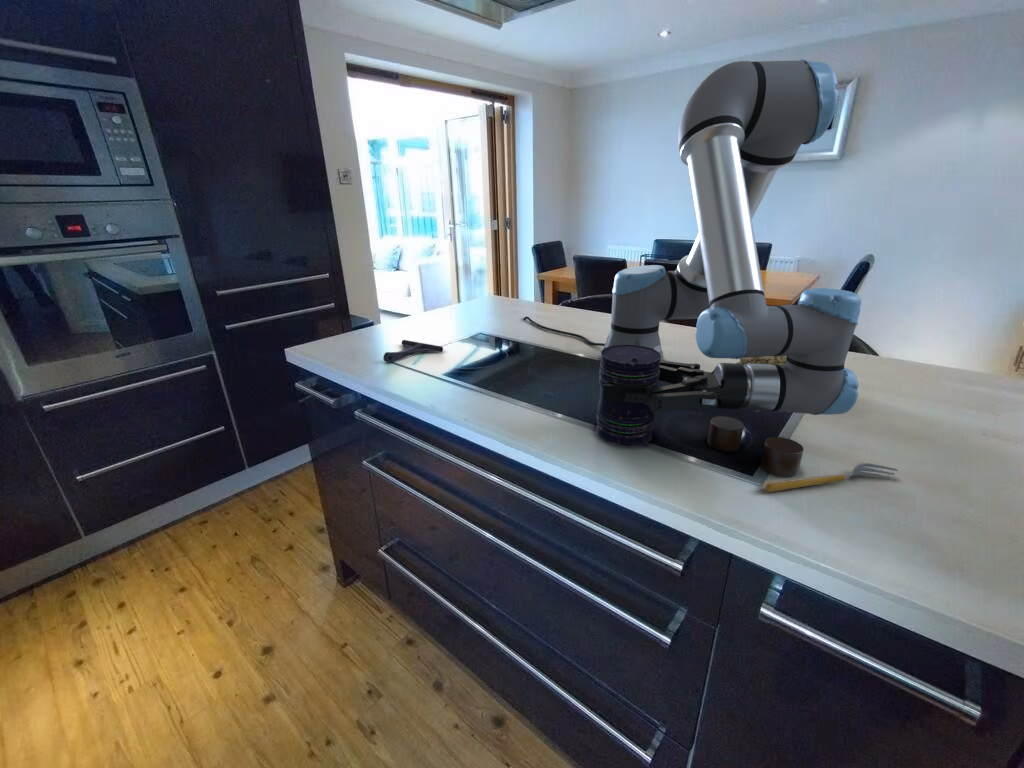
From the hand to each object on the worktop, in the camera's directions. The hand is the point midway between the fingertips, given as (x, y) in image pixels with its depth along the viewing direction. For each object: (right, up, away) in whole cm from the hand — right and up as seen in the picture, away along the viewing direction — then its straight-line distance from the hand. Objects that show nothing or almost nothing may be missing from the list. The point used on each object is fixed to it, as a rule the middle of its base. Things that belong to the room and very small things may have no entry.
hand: (602, 379), depth 76 cm
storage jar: (+4, -10, +3) cm, 11 cm away
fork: (+30, -15, -12) cm, 36 cm away
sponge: (+45, -1, +21) cm, 49 cm away
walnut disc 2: (+25, -14, -8) cm, 30 cm away
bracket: (-45, +7, +46) cm, 64 cm away
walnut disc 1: (+20, -11, -1) cm, 23 cm away
